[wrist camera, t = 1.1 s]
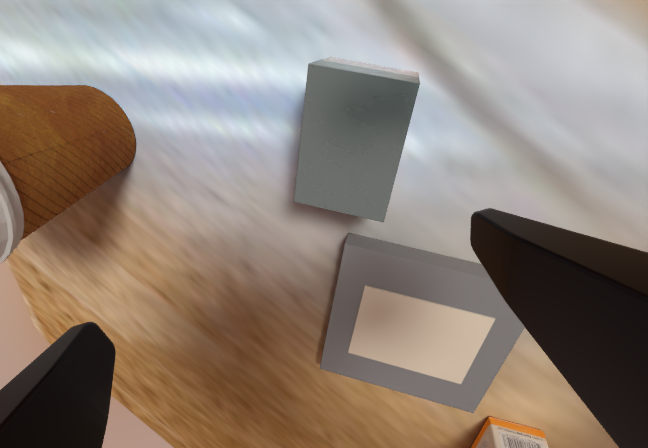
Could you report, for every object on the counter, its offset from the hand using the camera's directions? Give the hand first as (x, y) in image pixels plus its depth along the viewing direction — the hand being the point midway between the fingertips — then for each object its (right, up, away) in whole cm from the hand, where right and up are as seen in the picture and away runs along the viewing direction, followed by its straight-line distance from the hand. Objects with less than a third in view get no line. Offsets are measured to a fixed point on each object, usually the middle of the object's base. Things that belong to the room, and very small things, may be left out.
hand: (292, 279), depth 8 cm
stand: (+8, -6, +19) cm, 22 cm away
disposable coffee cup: (-16, +8, +18) cm, 25 cm away
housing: (+3, +7, +13) cm, 15 cm away
